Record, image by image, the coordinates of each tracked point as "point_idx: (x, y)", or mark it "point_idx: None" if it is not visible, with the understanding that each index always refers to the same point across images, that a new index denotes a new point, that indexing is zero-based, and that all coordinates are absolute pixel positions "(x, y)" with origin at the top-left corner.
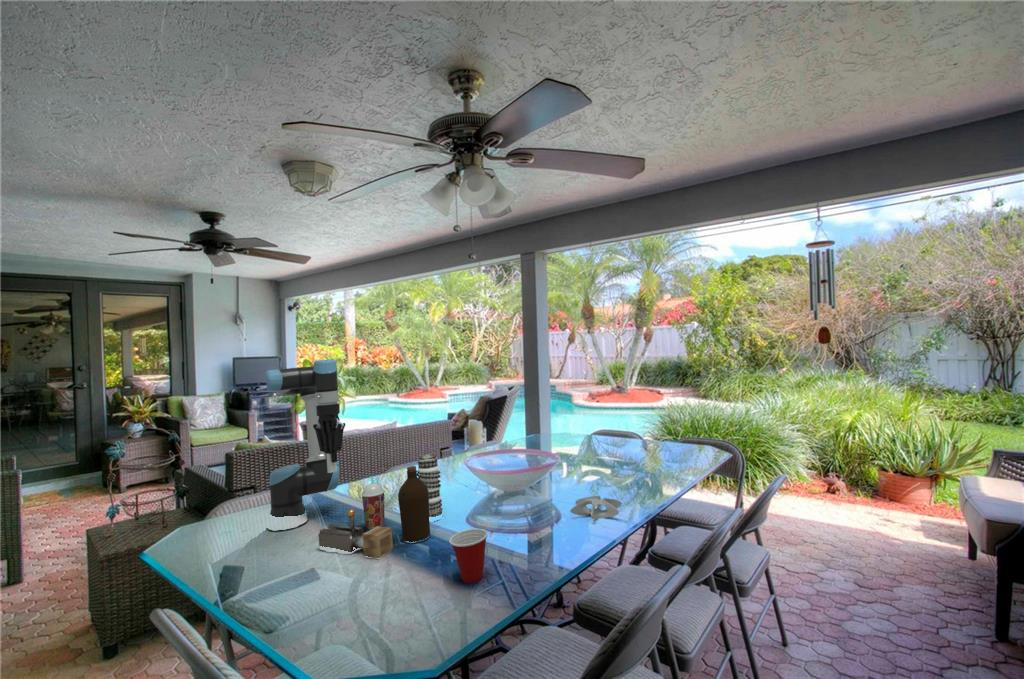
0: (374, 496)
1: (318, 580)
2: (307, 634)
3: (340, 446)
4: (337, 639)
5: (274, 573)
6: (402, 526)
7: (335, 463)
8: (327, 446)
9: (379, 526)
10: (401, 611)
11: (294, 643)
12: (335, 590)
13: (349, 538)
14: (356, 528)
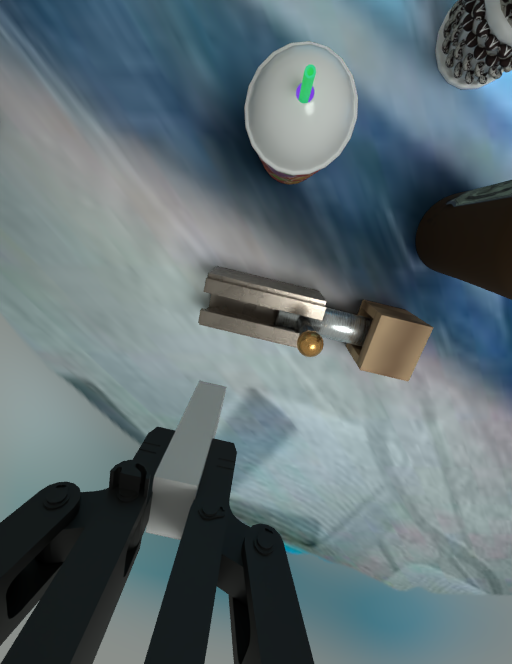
0: (327, 164)
1: (296, 433)
2: (368, 549)
3: (286, 590)
4: (414, 557)
5: (184, 408)
6: (444, 269)
7: (216, 423)
8: (115, 598)
9: (390, 318)
10: (487, 512)
11: (361, 561)
12: (350, 462)
13: None
14: (310, 313)
